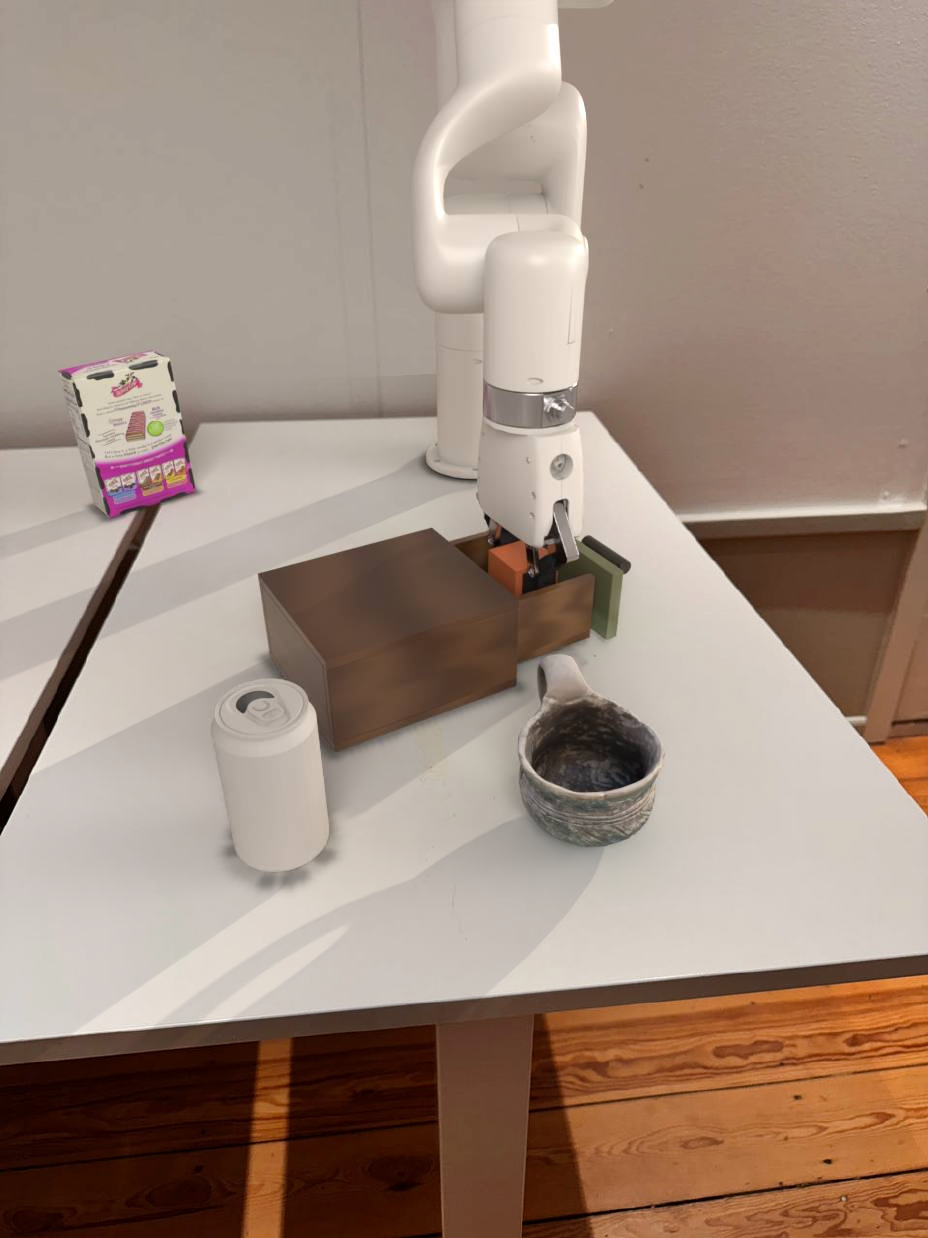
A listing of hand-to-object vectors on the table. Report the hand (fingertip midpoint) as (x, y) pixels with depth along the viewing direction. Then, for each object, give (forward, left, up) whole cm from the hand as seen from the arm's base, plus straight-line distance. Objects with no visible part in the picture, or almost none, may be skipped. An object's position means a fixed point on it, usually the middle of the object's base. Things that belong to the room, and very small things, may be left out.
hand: (521, 593), depth 80 cm
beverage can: (+29, +14, -4) cm, 32 cm away
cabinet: (+14, 0, -4) cm, 14 cm away
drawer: (0, 0, -3) cm, 3 cm away
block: (0, 0, 0) cm, 0 cm away
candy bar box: (+24, -46, -4) cm, 52 cm away
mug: (+10, +21, -4) cm, 23 cm away
